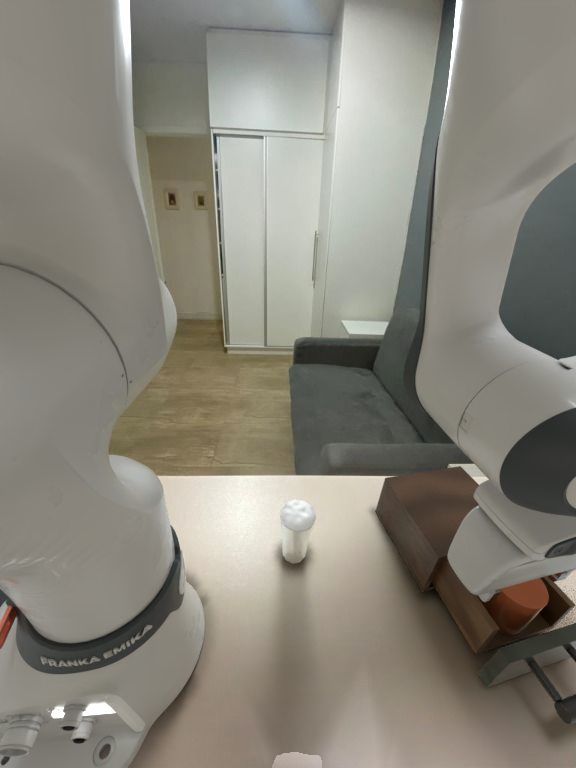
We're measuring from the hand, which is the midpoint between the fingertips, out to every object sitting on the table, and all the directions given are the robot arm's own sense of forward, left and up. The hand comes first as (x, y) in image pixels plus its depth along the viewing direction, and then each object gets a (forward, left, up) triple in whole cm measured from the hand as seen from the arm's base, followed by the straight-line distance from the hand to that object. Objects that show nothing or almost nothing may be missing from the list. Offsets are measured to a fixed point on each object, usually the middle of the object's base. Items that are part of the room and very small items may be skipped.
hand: (518, 583), depth 34 cm
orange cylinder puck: (0, 0, -5) cm, 5 cm away
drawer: (0, -2, -7) cm, 7 cm away
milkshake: (-22, +13, -8) cm, 27 cm away
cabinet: (0, +11, -7) cm, 13 cm away
